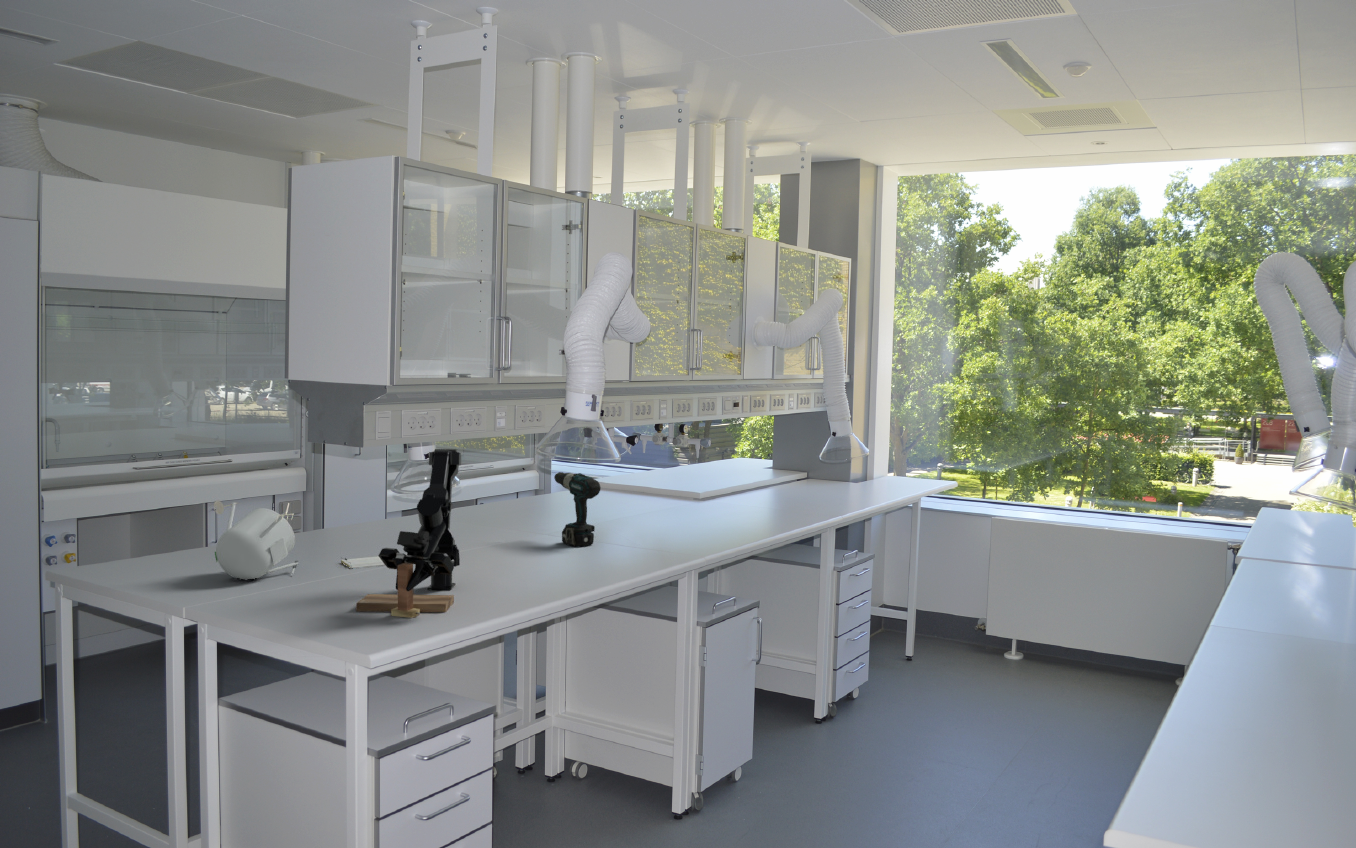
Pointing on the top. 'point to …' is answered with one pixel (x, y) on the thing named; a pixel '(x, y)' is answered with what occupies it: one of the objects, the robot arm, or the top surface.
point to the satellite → (254, 543)
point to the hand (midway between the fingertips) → (402, 589)
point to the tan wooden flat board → (391, 601)
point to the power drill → (579, 507)
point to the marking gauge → (405, 593)
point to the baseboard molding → (363, 562)
